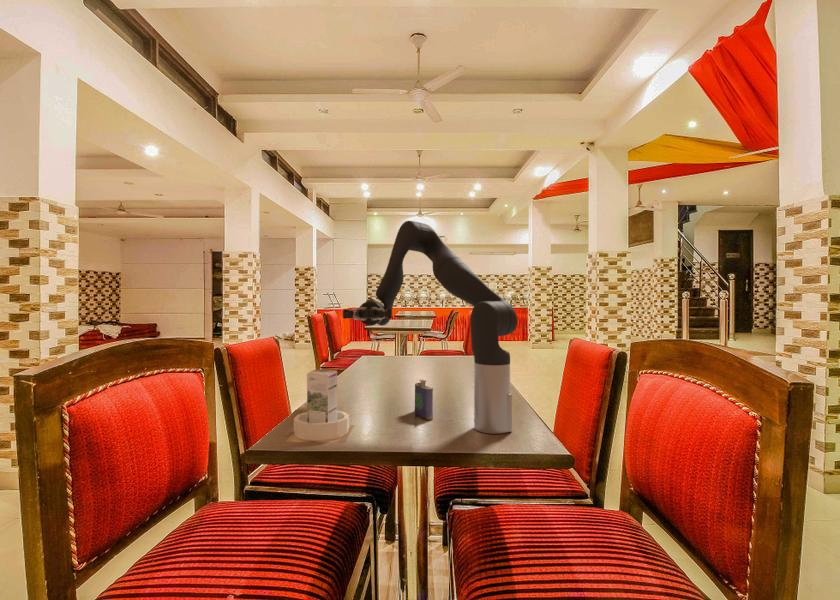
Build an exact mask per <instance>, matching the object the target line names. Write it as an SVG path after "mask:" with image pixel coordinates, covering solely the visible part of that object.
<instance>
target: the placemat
mask: <svg viewBox="0 0 840 600" xmlns="http://www.w3.org/2000/svg"><path fill="white" fill-rule="evenodd" d="M354 427H355V425H354V424H349V429H348V434H347V435H345V436H344V437H341V438H338V439H334V440H328V441H305V440H300V439H298V438H296V437H295V433H294V432H293V433H292V434H291V435H290V436H289V437H288V438H287V439H286V440H285V442H284V443H346V442H347V440H348V438H349V437H350V435H351V433H352V430H353V429H354Z"/></svg>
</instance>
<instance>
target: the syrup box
mask: <svg viewBox="0 0 840 600" xmlns="http://www.w3.org/2000/svg"><path fill="white" fill-rule="evenodd" d="M306 408H307V409H306V412H307V422H308V423H327V422H334V421H337V411H338V371H337V370H333V369H331V370H330V369H314V370H310V371H309V372H307V373H306Z"/></svg>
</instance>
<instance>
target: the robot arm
mask: <svg viewBox="0 0 840 600" xmlns="http://www.w3.org/2000/svg"><path fill="white" fill-rule="evenodd" d="M393 243H394V244H393V247H392V250H391V251H390V252H391V253H390V257H389V260H388V263H387V265H386V269H385V272H384V275H383V276H382V278H381V279H380V280H381V281H380V283H379V284H378V286H377V289H376V291H375V296H376V298H377V299H378V300H379V301H380V302H379V301H378V300H376V299H374V298H369V299H367V300H366V301H364V302H363V303H362V304H361V305H360V306H359V307H354V308H353V309H350V308H348V309H345V308H344V309H343V310H342V319H344V320H345V319H346V320H347V319H349V320H351V319H353V320H355V321H360V322H361V323H362V324H363V325H366V326H375V325H379V326H382V327H383V326H386V325H388V323H389V322H390V321H391V319H393V308H394V304H395V300H396V297H397V296H398V294H399V293H400V291H401V288H402V286H403V283H404V264H403V263H404V260H405V257H406V255H407V254H408V252H409V251H413V252H418V253H420V254H423V255H425V256H426V257H427V258H428V259H429V260H430V261H431V263H432V272H433V275H434V278H435V279H436V280H437V281H438V282H439V284H440V285H441V286H442V287H443V288H444V289H445V290H446V291H447V292H448V293H450V294H451V295H452V296H454V297H456V298H458V299H460V300H462V301H463V302H466V303H468V304H470V305H471V306H473V308H472V309H471V313H470V341H471V344H470V345H471V347H470V348H471V352H472V355H473V358H474V359H473V361H474V363H473V364H474V365H473V367H474V369H473V370H474V371H473V374H474V376H473V377H474V379H473V381H474V383H473V384H474V385H473V387H474V388H473V390H474V391H473V395H474V396H473V401H474V402H473V403H474V404H473V405H474V406H473V409H474V411H473V416H474V418H473V423H474V424H473V428H474V430H476V431H477V432H481V433H484V434H491V435H492V434H495V435H496V434H505V433H511V432H512V433H513V395H512V393H511V354H510V352H509V351H508V350H505V349H503V348H502V347H501V346H500V343H499V337H504V336H508V335H511V334H513V332H515V331H516V329H517V327H518V315H517V312H516V310H515V309H514V307H513V306H512V304H510V302H508V301H507V300H505V299H504V298H503V297H502V296H500V295H499V294H498V293H496V292H495V291H494V290H492V289H491V288H490V287H489V286H488V285H487V284H486V283H485V282H484V281H483V280H482V279H481V278H480V277H479V276H478V275H477V274H476V273H475V272H474V271H473V270H472V269H471V268H470V267H469V266H468V265H467V264H466V263H465V262H464V261H463V260H462V259H461V258H460V257H459V256H458V255H457V254H456V253H455V252H453V250H452V249H451V248H449V246H448V245H446V243H445V242H444V241H443V239H442V238H441V237H440V236H439V234H438V233H437V232H436V231H435V230H434V228H433V227H432V226H430V225H429V224H427V223H423V222H418V221H415V220H414V221H413V220H406V221H404V222H403V223H402V224H401V225H400V227H399V229H398V230H397V234H396V237H395V239H394V242H393Z"/></svg>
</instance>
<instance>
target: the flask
mask: <svg viewBox="0 0 840 600" xmlns="http://www.w3.org/2000/svg"><path fill="white" fill-rule="evenodd" d="M426 382H427V380H426V379H421V378H420V379H419V382H416V383H415V384H414V410H413V413H414V414H415V416H416V417H417V416H418V418H419V417H420V418H419V419H421V418H422V420H423V419H425V420H424V421H427V420H430V421H433V420H434V418H433V417H434V412H433V409H434V408H433V407H434V405H433V399H434V393H433V392H434V389H433V387H430V386H427V385H426Z"/></svg>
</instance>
